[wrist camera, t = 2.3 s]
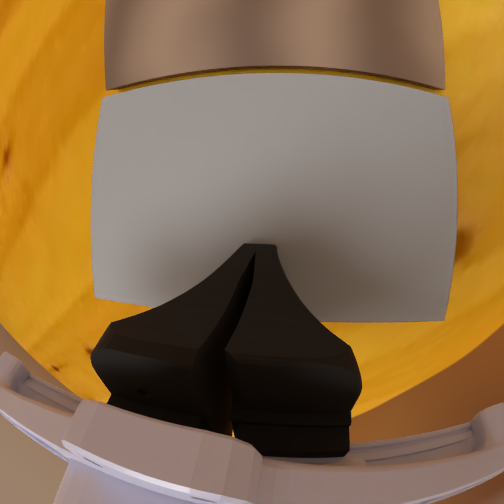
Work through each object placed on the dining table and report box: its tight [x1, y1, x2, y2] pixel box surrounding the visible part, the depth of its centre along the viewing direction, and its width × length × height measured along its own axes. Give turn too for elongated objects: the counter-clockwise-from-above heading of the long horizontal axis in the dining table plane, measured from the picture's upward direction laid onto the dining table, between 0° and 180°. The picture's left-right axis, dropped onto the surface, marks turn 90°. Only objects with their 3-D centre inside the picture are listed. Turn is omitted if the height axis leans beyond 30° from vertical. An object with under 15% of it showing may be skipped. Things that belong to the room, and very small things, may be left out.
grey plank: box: [91, 73, 458, 322], centre depth 12 cm, size 18×11×1 cm, turn 91°
